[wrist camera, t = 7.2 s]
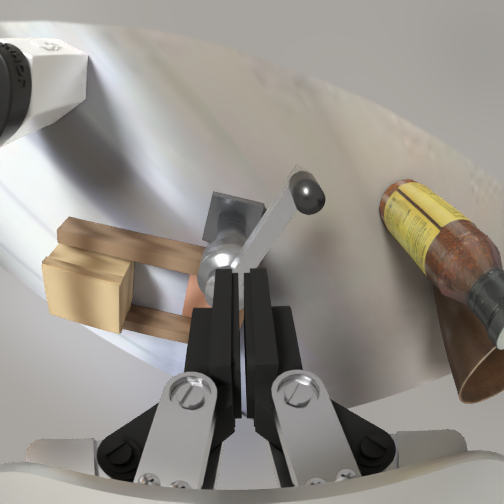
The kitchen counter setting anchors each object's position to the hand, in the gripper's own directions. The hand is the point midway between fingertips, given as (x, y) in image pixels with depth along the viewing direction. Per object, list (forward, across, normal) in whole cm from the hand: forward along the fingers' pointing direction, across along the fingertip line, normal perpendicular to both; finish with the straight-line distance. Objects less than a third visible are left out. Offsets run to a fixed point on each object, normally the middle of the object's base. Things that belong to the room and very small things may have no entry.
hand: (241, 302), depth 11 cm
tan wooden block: (+21, +17, +13) cm, 30 cm away
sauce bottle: (+20, -18, +5) cm, 27 cm away
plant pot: (+20, -29, +15) cm, 39 cm away
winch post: (+21, +1, +7) cm, 22 cm away
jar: (+21, +18, -9) cm, 29 cm away
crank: (+10, -1, +3) cm, 11 cm away
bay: (+21, +11, +15) cm, 28 cm away
